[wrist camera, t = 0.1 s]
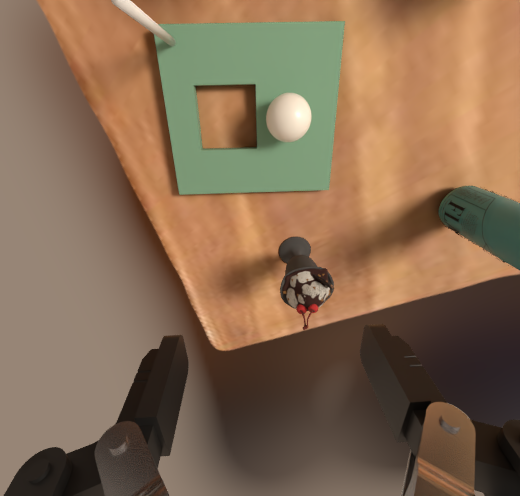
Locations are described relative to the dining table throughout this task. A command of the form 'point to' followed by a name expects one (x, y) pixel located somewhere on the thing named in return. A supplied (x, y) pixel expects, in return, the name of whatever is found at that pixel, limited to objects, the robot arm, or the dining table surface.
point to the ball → (288, 117)
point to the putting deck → (267, 89)
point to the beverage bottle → (484, 221)
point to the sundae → (303, 278)
